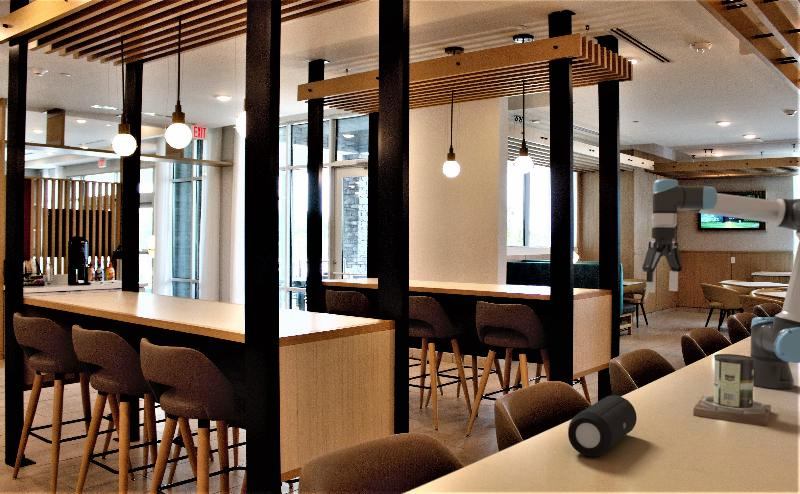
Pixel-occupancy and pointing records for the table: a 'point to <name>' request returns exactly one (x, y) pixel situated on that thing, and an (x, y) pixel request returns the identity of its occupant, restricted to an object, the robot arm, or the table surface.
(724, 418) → the collar board
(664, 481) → the table surface
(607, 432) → the portable speaker
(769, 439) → the table surface
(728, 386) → the coffee can
